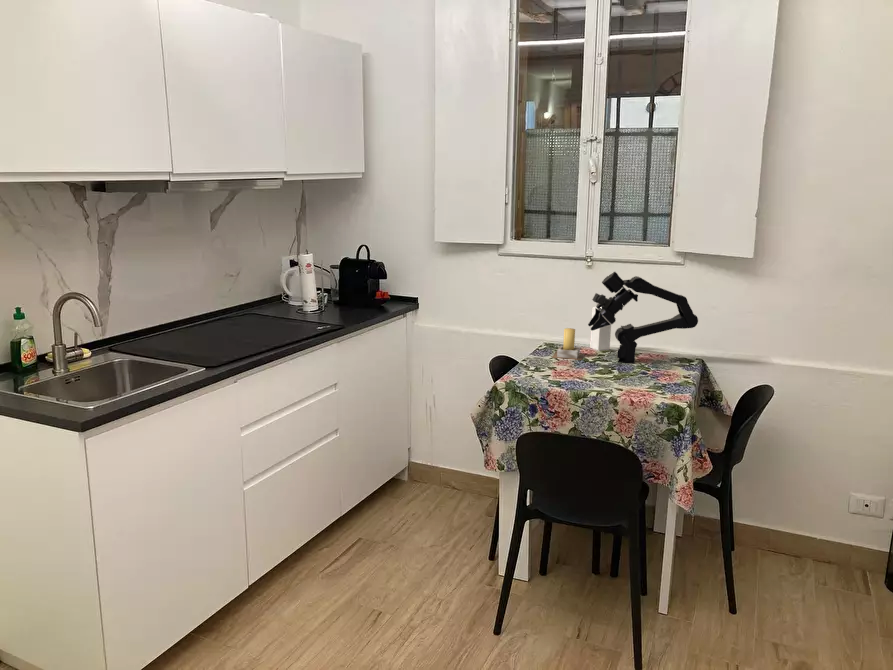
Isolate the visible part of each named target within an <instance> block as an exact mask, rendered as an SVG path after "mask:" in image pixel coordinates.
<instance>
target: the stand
mask: <svg viewBox="0 0 893 670" xmlns="http://www.w3.org/2000/svg"><path fill="white" fill-rule="evenodd" d="M580 349H581V348H580V346H574V351H573V350H563V345H560V346H558V348H557V349H556V351H555V352H554V353H553V355H552V356H551V358H552V359H562V360H576V361H582V360H583V358H584V356H585V353H580V352H581V351H580Z"/></svg>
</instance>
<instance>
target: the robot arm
mask: <svg viewBox="0 0 893 670" xmlns="http://www.w3.org/2000/svg"><path fill="white" fill-rule="evenodd" d="M601 283H602V285H603V286H604V287H605V288H606V289H607V290H608V291H609V293H611V294H613V293H615V295H614V296H610V297H606V295H604V294H602V293H601V294H599V293H597V292H595V294H594V296H593V297H592V299H591V300H592V301H593V302H594V303H596V305H597V303H599V304H598V305H597V306H596V305H595V306H596V307H597V308H598V309H596V308H595V315H594V316H593V318H592V317H591V318H590V321H589V322H588V324H587V325H588V327H590V331H591V330H592V331H593V330H596V329H599V328H602V327H605V326H608V325H610V323H611V325H613V324H614V323H616V320H617V319H616V314H618V312H620V311H623V309H624V307H625V306H626V305H627V304H629V302H631V301H632V300H634V301H635V302H638V300H639V299H638V298H639V294H638V293H640V294H645V295H652V296H655V297H657V298H660V299H663V300H664V301H668V302H670V303H674V304H676V307H677V311H678V314H676V315H674V316H673V317H671V318H668V319H663V320H659V321H655V322H651V323H648V324H644V325H639V326H634V325H633V324H632V323H628V324H626V325H620V327H618V328H617V329H616V330H615V332H614V336H615V339H616V340H617V341H618V342H619V348H617V355H616V356H617V357H616V358H617V360H618V361H617V362H618V363H625V364H626V363H629V364H635V362H636V351H637V350H636V349H637V346H638V343H637V342H636V340H638V339H640V338H643V337H646V336H650V335H653V334H654V335H655V334H658V333H663V332H666V331H667V332H668V331H671V330H674V329H683V330H685V329H694V328H695V327H696V326H697V325H698V324H699V318H698V316H697V315H696V314H694V312H693V310H692V307H691V306H690V304H689V301H688V299H687V296H684V295H682V294H678V293H675V292H673V291H670V290H667V289H664V288H661V287H659V286H656V285H654V284H652V283H650V282H648V281H647V280H645V279H644V278H642V277H641V276H636V275H635V276H633V277H631V278H630V279H624V280H623V279H622V278H621V277H620V276H619V274H618V273H617V272H616V271H613V272H612V273H611V274H609V275H607V276H606V277H604V279H603V280H602V281H601ZM625 287H626V288H625ZM627 288H628V289H627ZM633 291H634V292H635V293H634V292H633ZM592 325H593V326H592ZM591 326H592V327H591Z"/></svg>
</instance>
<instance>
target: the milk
mask: <svg viewBox="0 0 893 670" xmlns="http://www.w3.org/2000/svg"><path fill="white" fill-rule="evenodd" d="M598 304H599V303H596V305H595V306H593V307H592V308H591V309H592V310H591V319H592V318H593V316H594V315H595V308H596V309H598V308H597V307H596V306H597V305H598ZM592 326H593V325H592ZM592 326H590V328H591V327H592ZM611 333H612V324H611V323H610V325H608V326H605V327H602V328H599V329H596V330H593V331H592V330H591V329H590V344H589V348H590V349H593V350H595V351H607V350H610V349H611Z"/></svg>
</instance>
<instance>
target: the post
mask: <svg viewBox="0 0 893 670" xmlns="http://www.w3.org/2000/svg"><path fill="white" fill-rule="evenodd" d="M575 341H576V329H575V328H568V327H566V328H564V329H563V343H562V344H563V345H562V346H563V350H573V351H574V347H575Z"/></svg>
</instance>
